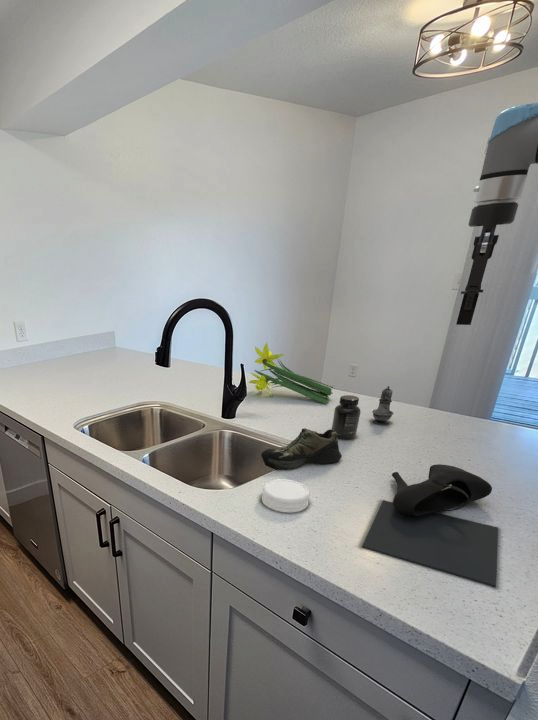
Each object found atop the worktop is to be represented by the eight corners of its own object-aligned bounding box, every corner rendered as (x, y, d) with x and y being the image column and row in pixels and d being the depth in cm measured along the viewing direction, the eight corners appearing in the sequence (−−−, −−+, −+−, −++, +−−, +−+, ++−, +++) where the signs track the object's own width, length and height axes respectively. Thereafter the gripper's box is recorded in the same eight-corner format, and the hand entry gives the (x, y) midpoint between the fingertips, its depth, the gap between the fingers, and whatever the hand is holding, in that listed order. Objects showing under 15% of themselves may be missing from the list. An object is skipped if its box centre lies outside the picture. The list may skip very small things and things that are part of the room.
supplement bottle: (358, 435, 130) (366, 396, 124) (351, 442, 125) (358, 402, 120) (334, 430, 134) (341, 392, 129) (327, 437, 129) (333, 398, 124)
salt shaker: (365, 421, 139) (373, 384, 134) (380, 418, 141) (388, 382, 135) (380, 427, 134) (388, 389, 129) (395, 424, 136) (404, 386, 130)
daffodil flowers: (316, 412, 152) (230, 375, 167) (319, 421, 165) (239, 386, 180) (342, 369, 149) (253, 335, 165) (343, 381, 162) (260, 349, 178)
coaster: (297, 518, 92) (299, 504, 90) (253, 504, 98) (255, 491, 96) (314, 499, 99) (316, 485, 97) (273, 487, 105) (274, 474, 103)
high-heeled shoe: (479, 490, 97) (514, 530, 80) (382, 489, 105) (395, 526, 88) (483, 456, 95) (519, 491, 78) (384, 458, 102) (397, 490, 85)
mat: (497, 529, 85) (497, 527, 84) (494, 588, 71) (495, 585, 71) (382, 502, 96) (383, 500, 96) (361, 548, 82) (362, 545, 82)
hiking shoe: (254, 459, 119) (256, 428, 114) (327, 450, 121) (332, 419, 117) (267, 473, 111) (270, 440, 107) (345, 463, 114) (351, 430, 109)
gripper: (473, 206, 95) (445, 319, 106) (472, 204, 86) (441, 328, 97) (518, 202, 91) (484, 320, 102) (521, 199, 82) (483, 329, 92)
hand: (463, 324), depth 99 cm, fingers closed
